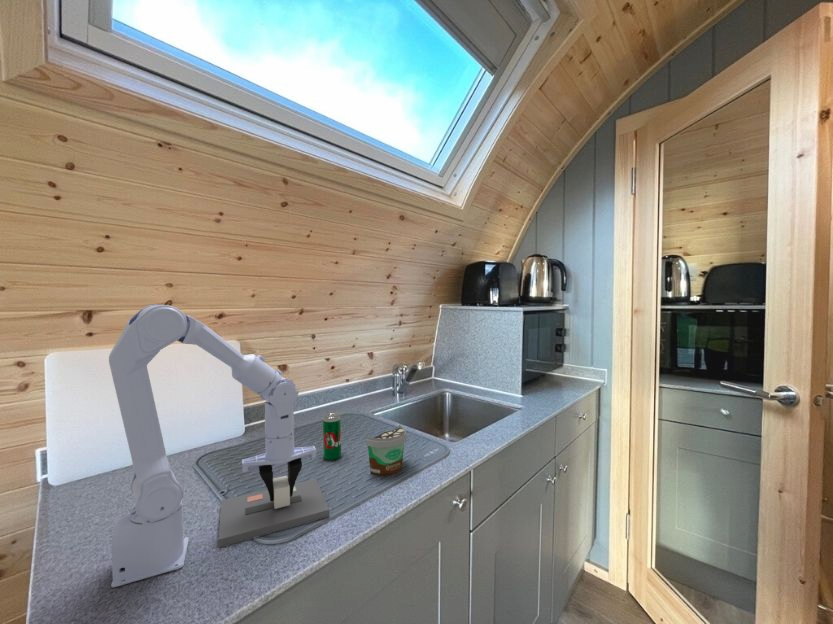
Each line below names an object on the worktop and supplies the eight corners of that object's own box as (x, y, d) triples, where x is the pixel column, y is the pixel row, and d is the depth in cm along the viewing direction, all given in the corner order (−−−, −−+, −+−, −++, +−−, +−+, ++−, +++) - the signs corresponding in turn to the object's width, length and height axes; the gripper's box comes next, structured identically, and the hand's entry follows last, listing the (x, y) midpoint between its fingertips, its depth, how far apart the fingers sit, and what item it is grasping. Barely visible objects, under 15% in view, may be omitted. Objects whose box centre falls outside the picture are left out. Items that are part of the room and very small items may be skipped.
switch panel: (218, 547, 64) (218, 539, 64) (221, 507, 77) (221, 499, 77) (329, 516, 73) (329, 509, 73) (316, 484, 86) (315, 478, 86)
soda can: (334, 451, 104) (333, 411, 103) (345, 456, 101) (344, 415, 100) (319, 457, 100) (318, 415, 100) (330, 463, 97) (329, 419, 96)
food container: (382, 484, 86) (381, 443, 85) (365, 475, 90) (365, 437, 89) (416, 466, 95) (416, 429, 94) (400, 459, 99) (400, 424, 99)
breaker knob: (274, 509, 73) (274, 489, 72) (272, 496, 77) (272, 478, 77) (289, 505, 74) (289, 486, 74) (287, 493, 78) (286, 475, 78)
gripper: (311, 422, 82) (312, 479, 82) (241, 433, 75) (243, 495, 76) (317, 432, 75) (318, 494, 76) (241, 445, 69) (243, 513, 69)
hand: (281, 496), depth 75 cm, fingers closed on breaker knob, 3 cm apart
